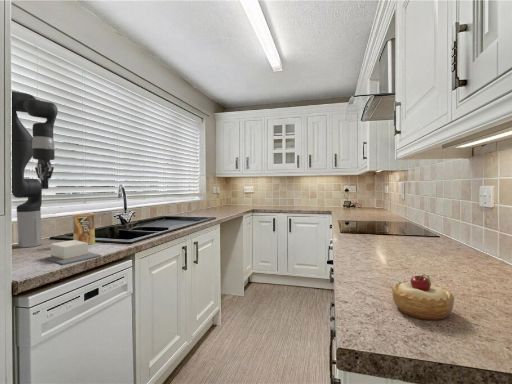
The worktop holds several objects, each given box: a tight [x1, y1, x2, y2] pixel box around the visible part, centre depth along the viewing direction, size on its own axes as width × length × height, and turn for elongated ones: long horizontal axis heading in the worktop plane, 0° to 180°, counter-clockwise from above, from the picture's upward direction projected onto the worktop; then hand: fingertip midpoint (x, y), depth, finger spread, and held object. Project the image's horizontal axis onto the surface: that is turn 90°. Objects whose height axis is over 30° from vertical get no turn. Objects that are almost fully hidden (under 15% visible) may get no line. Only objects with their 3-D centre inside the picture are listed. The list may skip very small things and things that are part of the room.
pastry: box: [391, 273, 455, 321], centre depth 63 cm, size 12×12×9 cm
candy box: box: [72, 212, 96, 246], centre depth 140 cm, size 9×4×15 cm, turn 129°
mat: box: [44, 251, 102, 266], centre depth 115 cm, size 16×14×1 cm
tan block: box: [49, 240, 89, 260], centre depth 116 cm, size 5×9×12 cm
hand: (44, 188), depth 121 cm, fingers closed
